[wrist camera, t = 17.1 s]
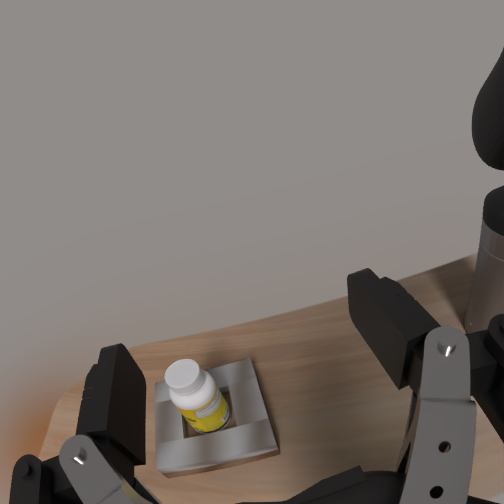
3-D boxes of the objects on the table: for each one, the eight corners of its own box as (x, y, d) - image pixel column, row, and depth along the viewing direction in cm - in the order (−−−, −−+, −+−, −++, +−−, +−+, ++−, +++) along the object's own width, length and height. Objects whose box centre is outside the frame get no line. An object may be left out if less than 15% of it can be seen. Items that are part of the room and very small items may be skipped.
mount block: (255, 370, 43) (250, 357, 42) (280, 453, 31) (276, 443, 30) (163, 394, 42) (155, 382, 41) (167, 477, 30) (156, 469, 29)
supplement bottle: (184, 414, 37) (152, 368, 32) (219, 394, 39) (194, 345, 34) (202, 443, 33) (168, 400, 28) (240, 421, 35) (215, 375, 30)
